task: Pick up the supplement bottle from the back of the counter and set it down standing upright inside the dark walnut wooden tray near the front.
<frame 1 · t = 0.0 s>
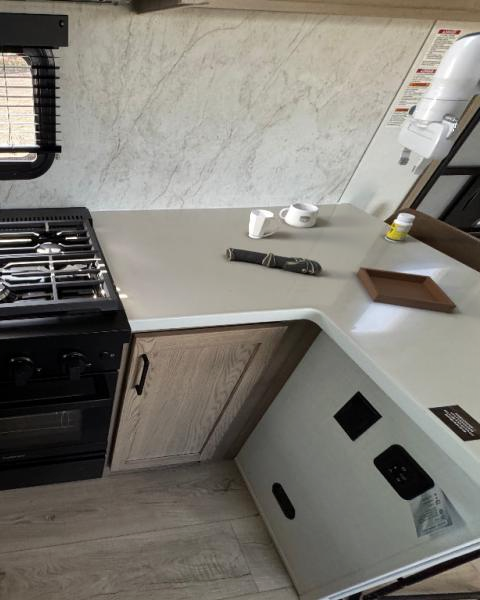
hand: (408, 169, 94), 24 cm above the countertop, tool pointing down, fingers open, 8 cm apart
cup: (259, 237, 116), on the countertop
mug: (294, 223, 124), on the countertop
tray: (399, 292, 88), on the countertop
supplement bottle: (392, 240, 113), on the countertop
twine-tied cloth roll: (269, 266, 100), on the countertop
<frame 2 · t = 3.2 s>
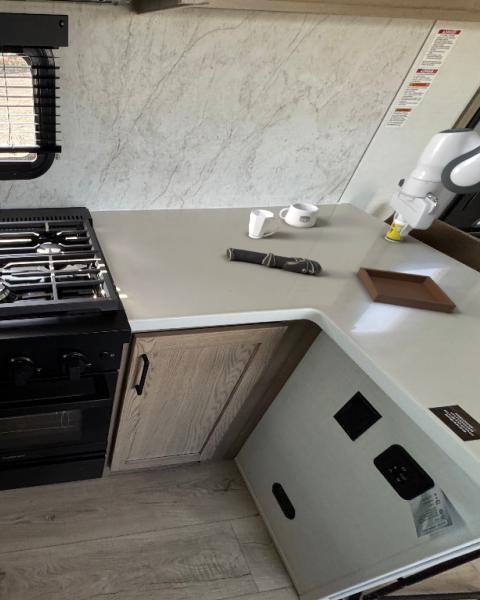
hand: (398, 230, 111), 3 cm above the countertop, tool pointing down, fingers closed on supplement bottle, 5 cm apart
supplement bottle: (392, 240, 113), on the countertop, touching gripper
everything else where it was.
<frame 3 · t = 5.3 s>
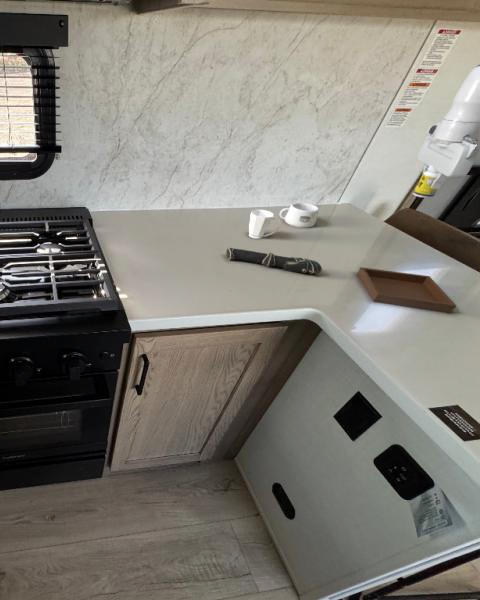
hand: (428, 184, 99), 19 cm above the countertop, tool pointing down, fingers closed on supplement bottle, 5 cm apart
supplement bottle: (421, 196, 101), point 15 cm above the countertop, touching gripper
everything else where it was.
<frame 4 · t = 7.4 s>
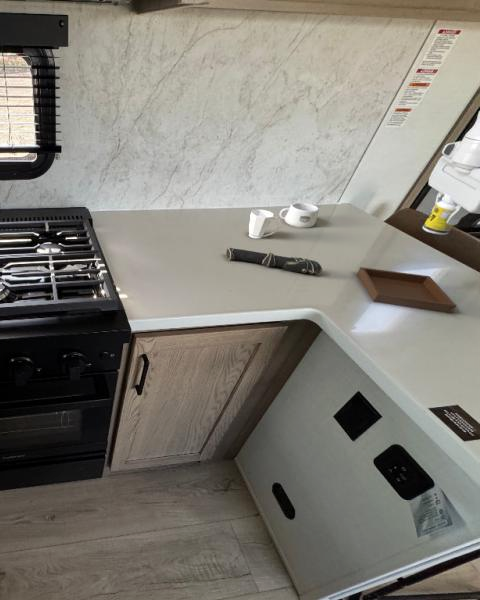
hand: (443, 218, 79), 19 cm above the countertop, tool pointing down, fingers closed on supplement bottle, 5 cm apart
supplement bottle: (434, 231, 81), point 16 cm above the countertop, touching gripper
everything else where it was.
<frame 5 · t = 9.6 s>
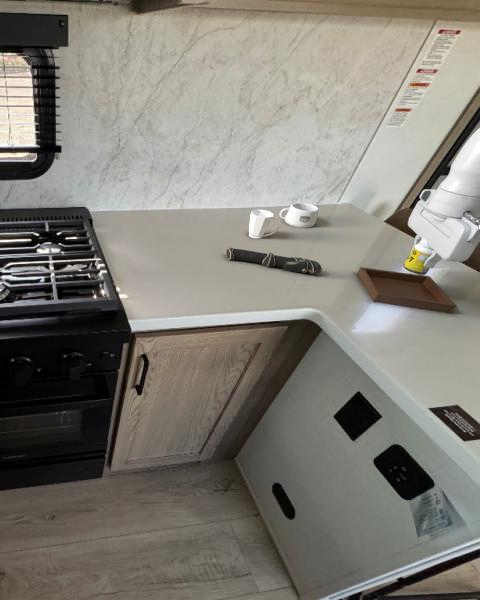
hand: (420, 259, 83), 10 cm above the countertop, tool pointing down, fingers closed on supplement bottle, 5 cm apart
supplement bottle: (412, 271, 85), point 6 cm above the countertop, touching gripper
everything else where it was.
when the fingers open (3 cm above the countertop, at t = 11.5 s): supplement bottle stays where it is, resting on tray.
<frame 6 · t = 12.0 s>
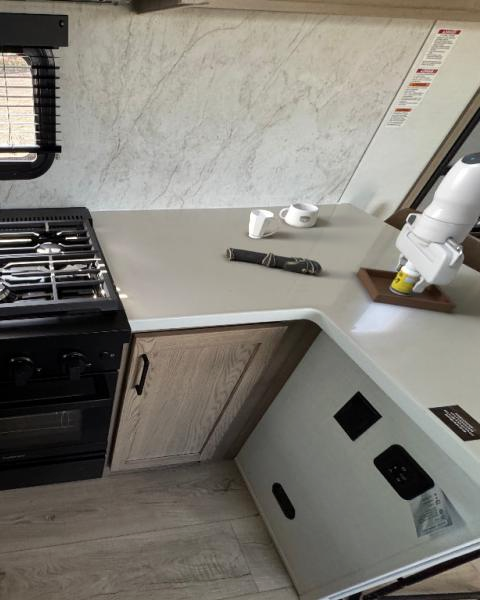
hand: (407, 280, 86), 4 cm above the countertop, tool pointing down, fingers open, 8 cm apart
supplement bottle: (399, 291, 88), resting on tray
everything else where it was.
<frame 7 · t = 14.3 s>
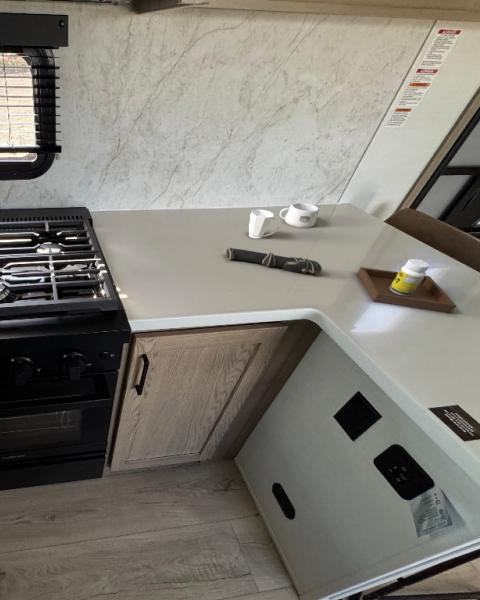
nothing on the countertop moved.
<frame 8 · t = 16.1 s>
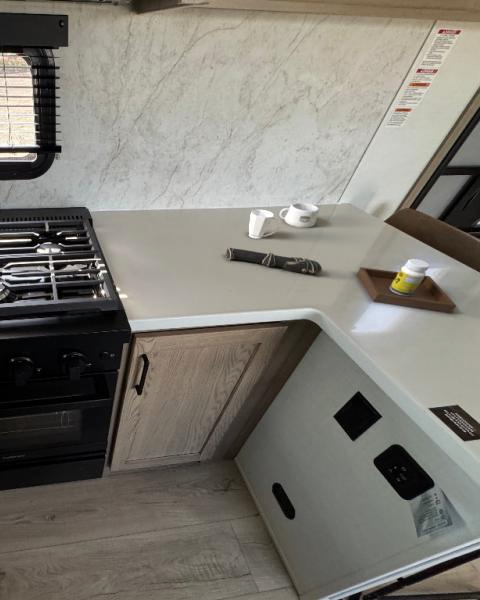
nothing on the countertop moved.
at the end: supplement bottle inside the target area in the tray (0.0 cm from its centre), point 0.3 cm above the tray's base; supplement bottle tilted 0°; the gripper is holding nothing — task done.
